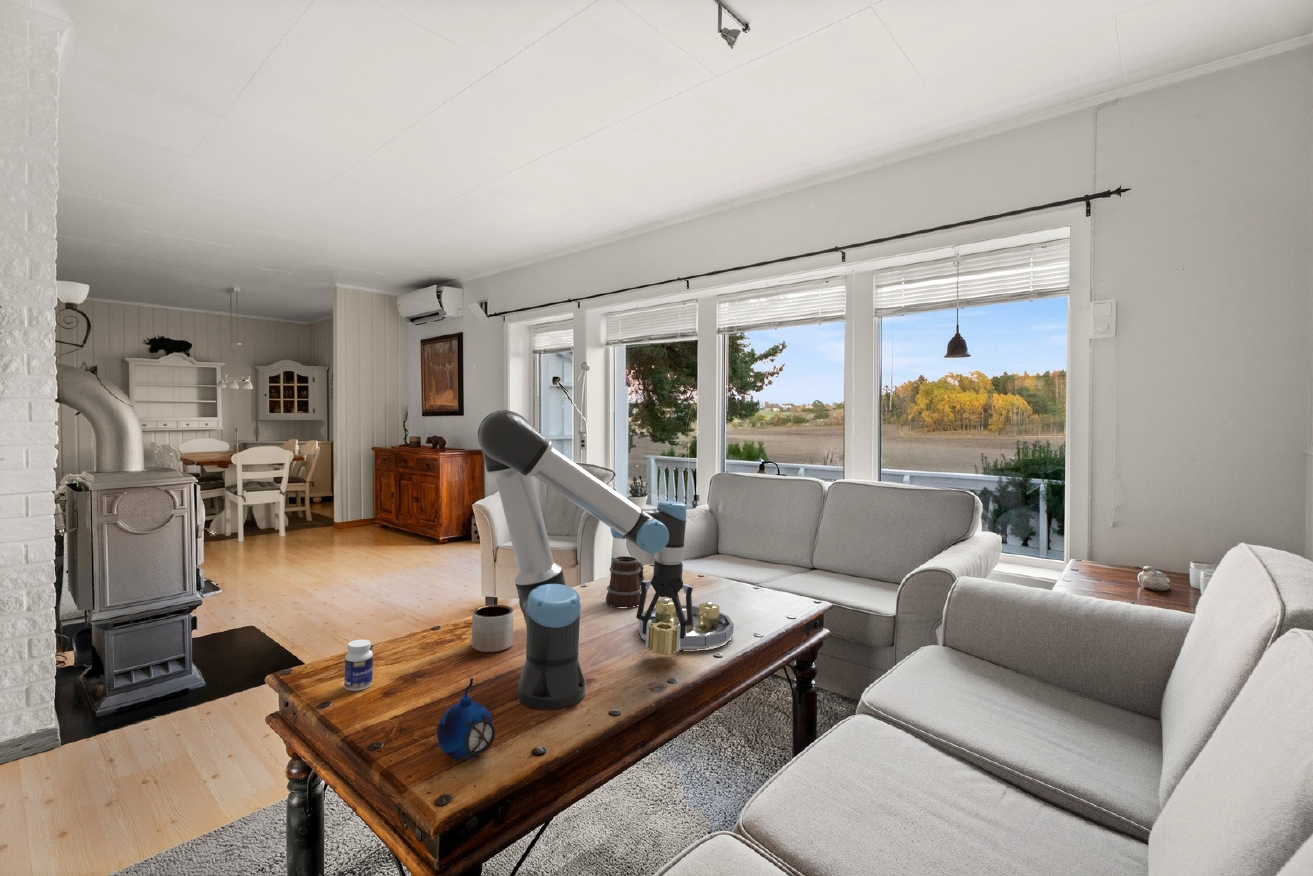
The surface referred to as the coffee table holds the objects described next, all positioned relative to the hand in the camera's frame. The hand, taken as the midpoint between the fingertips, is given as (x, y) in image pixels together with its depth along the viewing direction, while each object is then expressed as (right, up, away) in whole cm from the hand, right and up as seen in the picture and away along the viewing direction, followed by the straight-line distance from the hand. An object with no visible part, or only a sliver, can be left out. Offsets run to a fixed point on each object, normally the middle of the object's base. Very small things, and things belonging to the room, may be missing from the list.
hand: (662, 648), depth 161 cm
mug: (-11, -1, +48) cm, 49 cm away
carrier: (+7, -2, +19) cm, 21 cm away
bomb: (-36, -4, -48) cm, 60 cm away
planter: (-46, -1, +5) cm, 46 cm away
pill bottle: (-69, -2, -21) cm, 72 cm away
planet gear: (0, 0, 0) cm, 0 cm away
